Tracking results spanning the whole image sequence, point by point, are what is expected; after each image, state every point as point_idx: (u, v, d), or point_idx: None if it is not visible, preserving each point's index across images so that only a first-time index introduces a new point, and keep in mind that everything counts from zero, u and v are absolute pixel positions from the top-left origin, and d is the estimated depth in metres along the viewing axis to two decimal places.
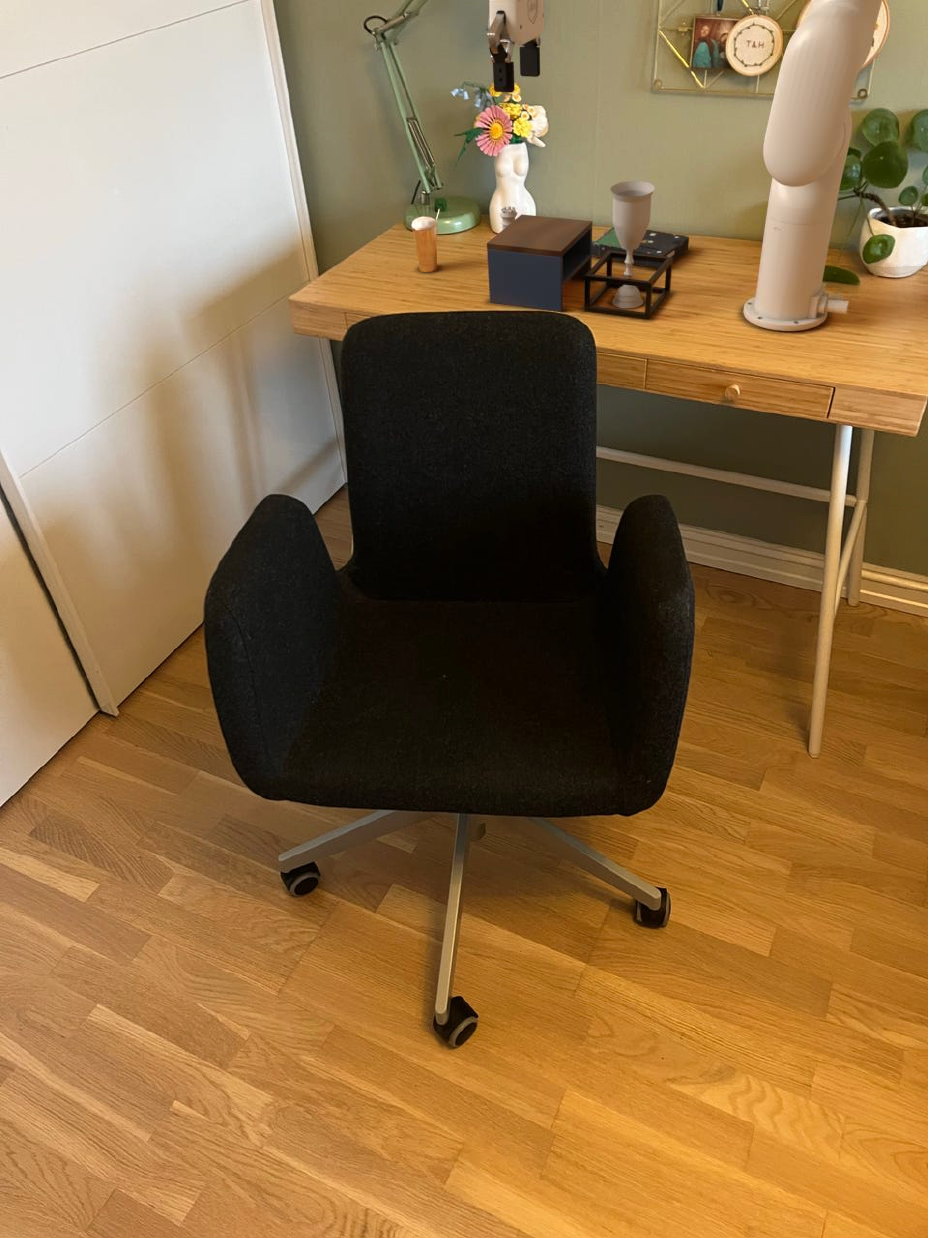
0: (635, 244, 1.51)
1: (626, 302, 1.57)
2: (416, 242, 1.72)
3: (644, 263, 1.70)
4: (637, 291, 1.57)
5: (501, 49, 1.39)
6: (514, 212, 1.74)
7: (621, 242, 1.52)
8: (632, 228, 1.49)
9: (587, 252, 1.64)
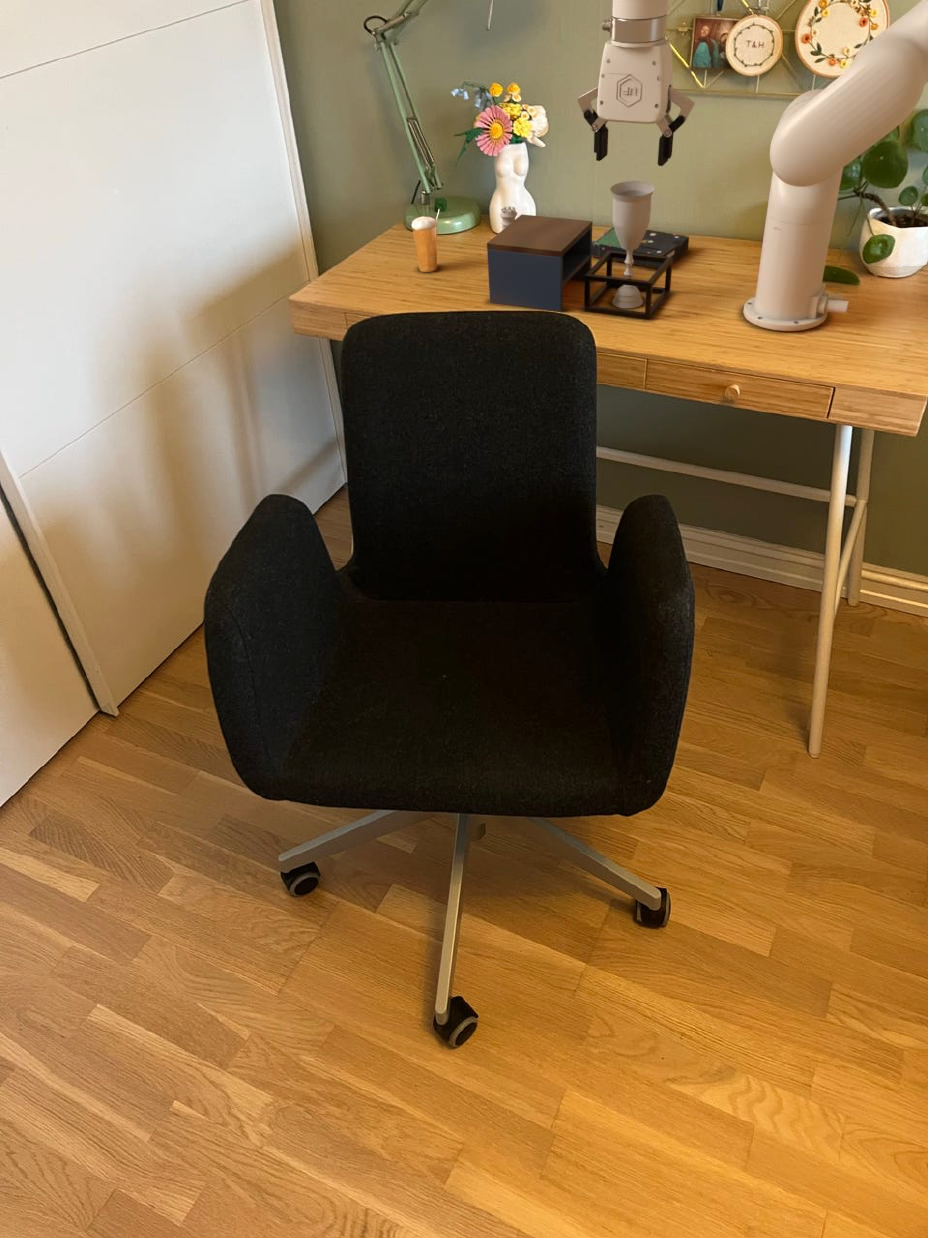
0: (635, 244, 1.51)
1: (626, 302, 1.57)
2: (416, 242, 1.72)
3: (644, 263, 1.70)
4: (637, 291, 1.57)
5: (585, 115, 1.43)
6: (514, 212, 1.74)
7: (621, 242, 1.52)
8: (632, 228, 1.49)
9: (587, 252, 1.64)
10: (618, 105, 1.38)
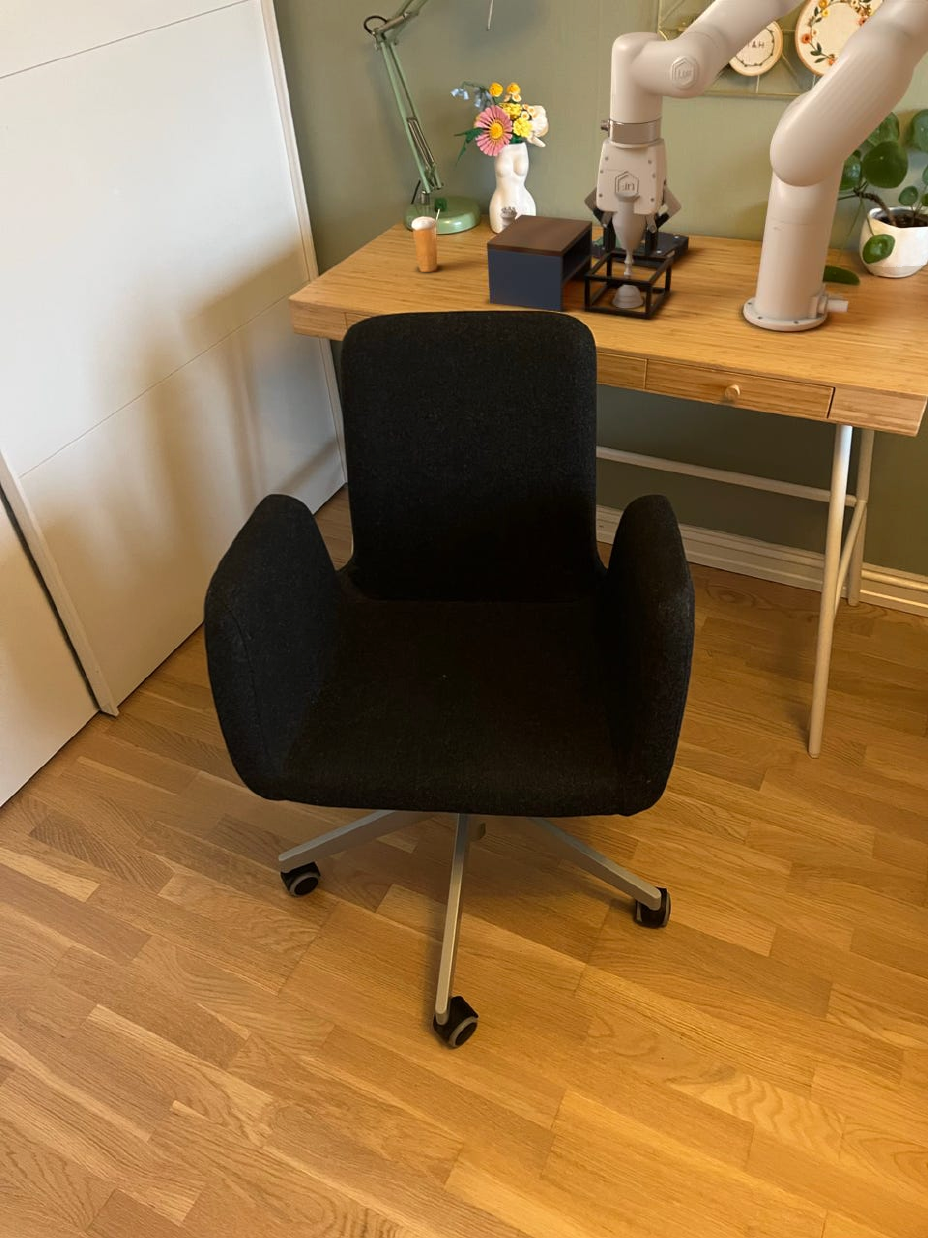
0: (635, 244, 1.52)
1: (626, 302, 1.57)
2: (416, 242, 1.72)
3: (644, 263, 1.70)
4: (637, 291, 1.57)
5: (594, 212, 1.52)
6: (514, 212, 1.74)
7: (621, 242, 1.52)
8: (632, 228, 1.49)
9: (587, 252, 1.64)
10: (616, 198, 1.47)
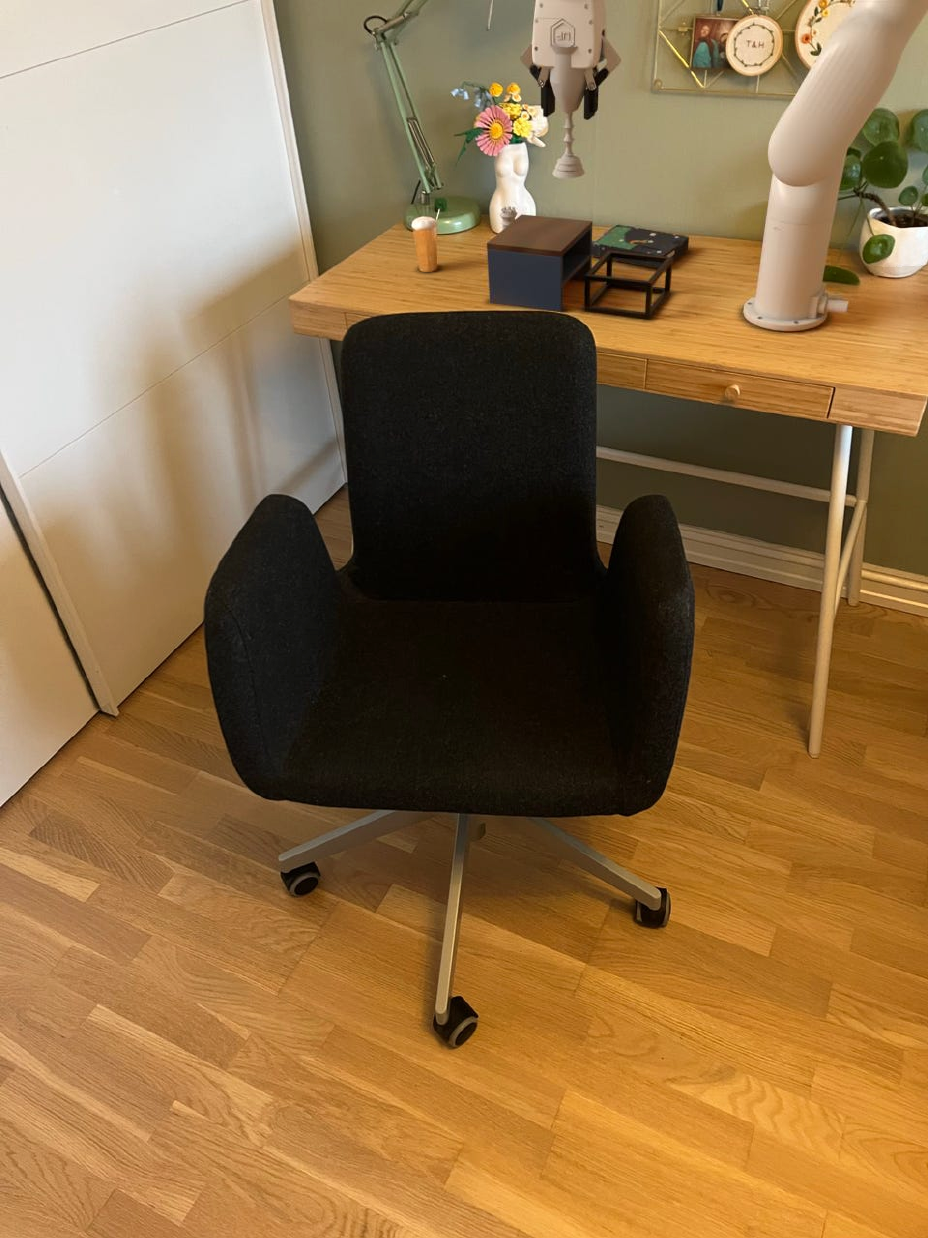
0: (574, 104, 1.43)
1: (566, 171, 1.49)
2: (416, 242, 1.72)
3: (644, 263, 1.70)
4: (578, 160, 1.49)
5: (531, 70, 1.43)
6: (514, 212, 1.74)
7: (559, 102, 1.43)
8: (570, 85, 1.40)
9: (587, 252, 1.64)
10: (552, 51, 1.38)
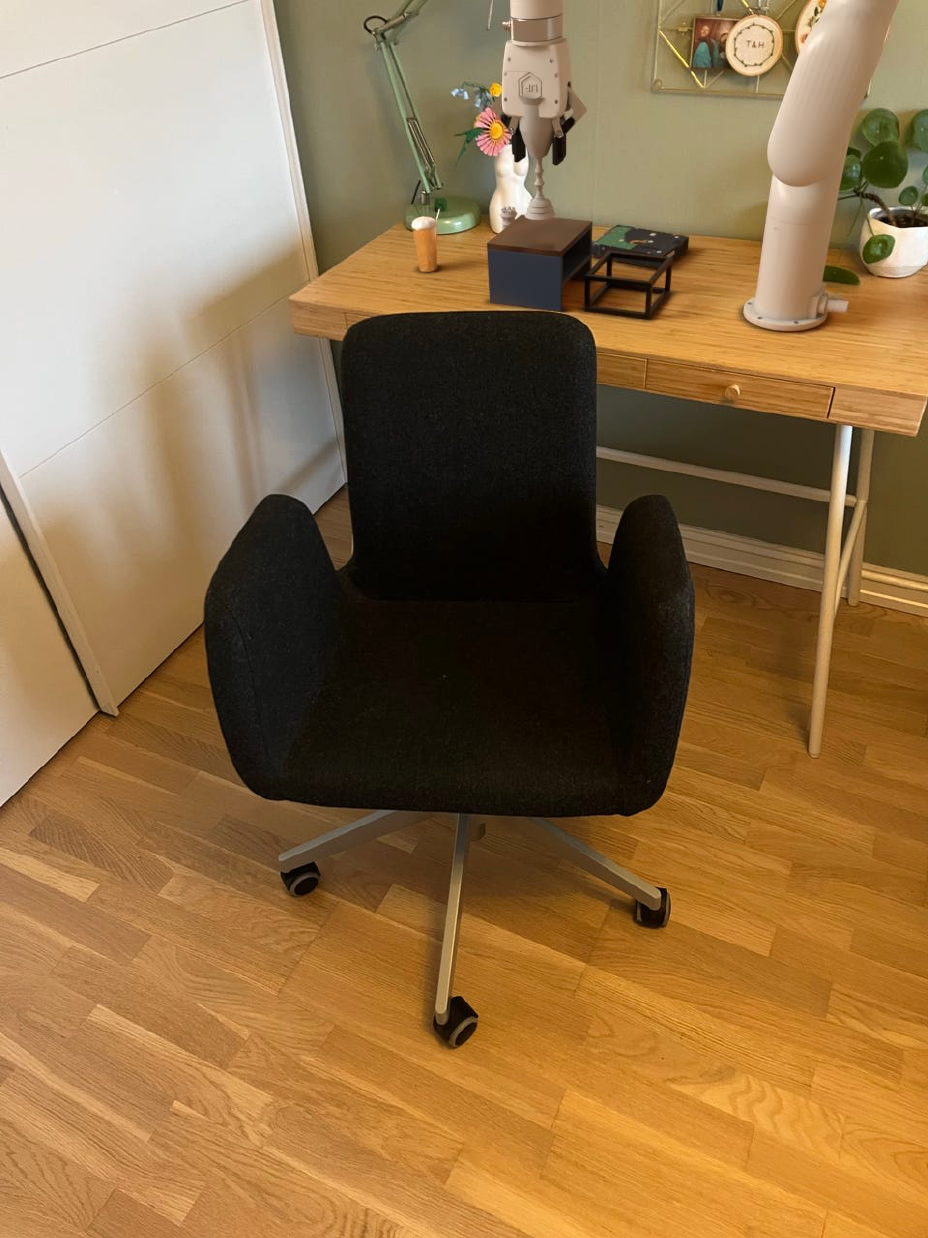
0: (543, 151, 1.49)
1: (537, 213, 1.55)
2: (416, 242, 1.72)
3: (644, 263, 1.70)
4: (548, 202, 1.55)
5: (502, 119, 1.49)
6: (514, 212, 1.74)
7: (529, 149, 1.49)
8: (538, 133, 1.46)
9: (587, 252, 1.64)
10: None
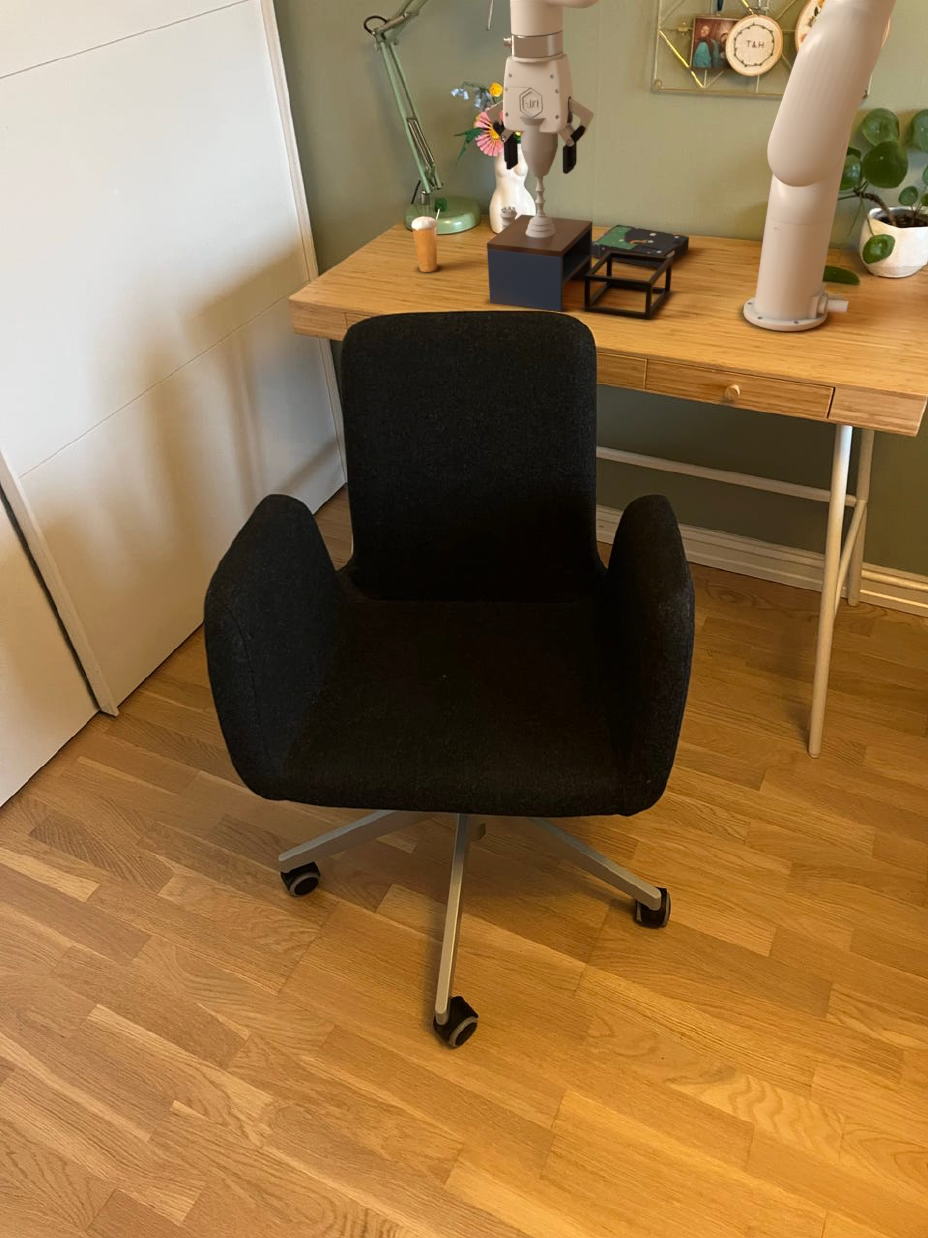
0: (544, 170, 1.51)
1: (538, 231, 1.57)
2: (416, 242, 1.72)
3: (644, 263, 1.70)
4: (549, 220, 1.57)
5: (493, 126, 1.50)
6: (514, 212, 1.74)
7: (530, 168, 1.51)
8: (539, 153, 1.48)
9: (587, 252, 1.64)
10: (522, 117, 1.46)
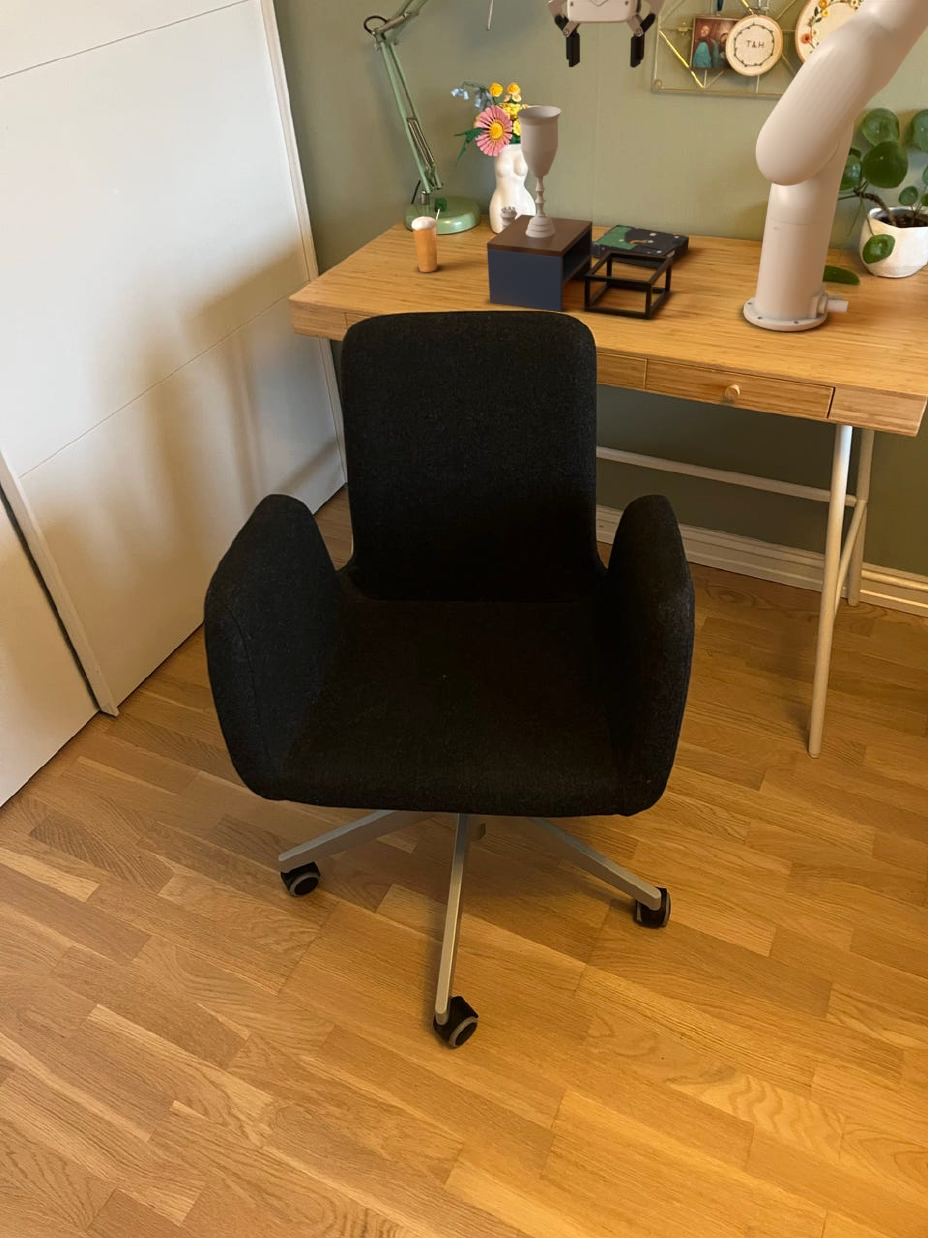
0: (544, 170, 1.51)
1: (538, 231, 1.57)
2: (416, 242, 1.72)
3: (644, 263, 1.70)
4: (549, 220, 1.57)
5: (556, 20, 1.43)
6: (514, 212, 1.74)
7: (530, 168, 1.51)
8: (539, 153, 1.48)
9: (587, 252, 1.64)
10: (588, 5, 1.38)
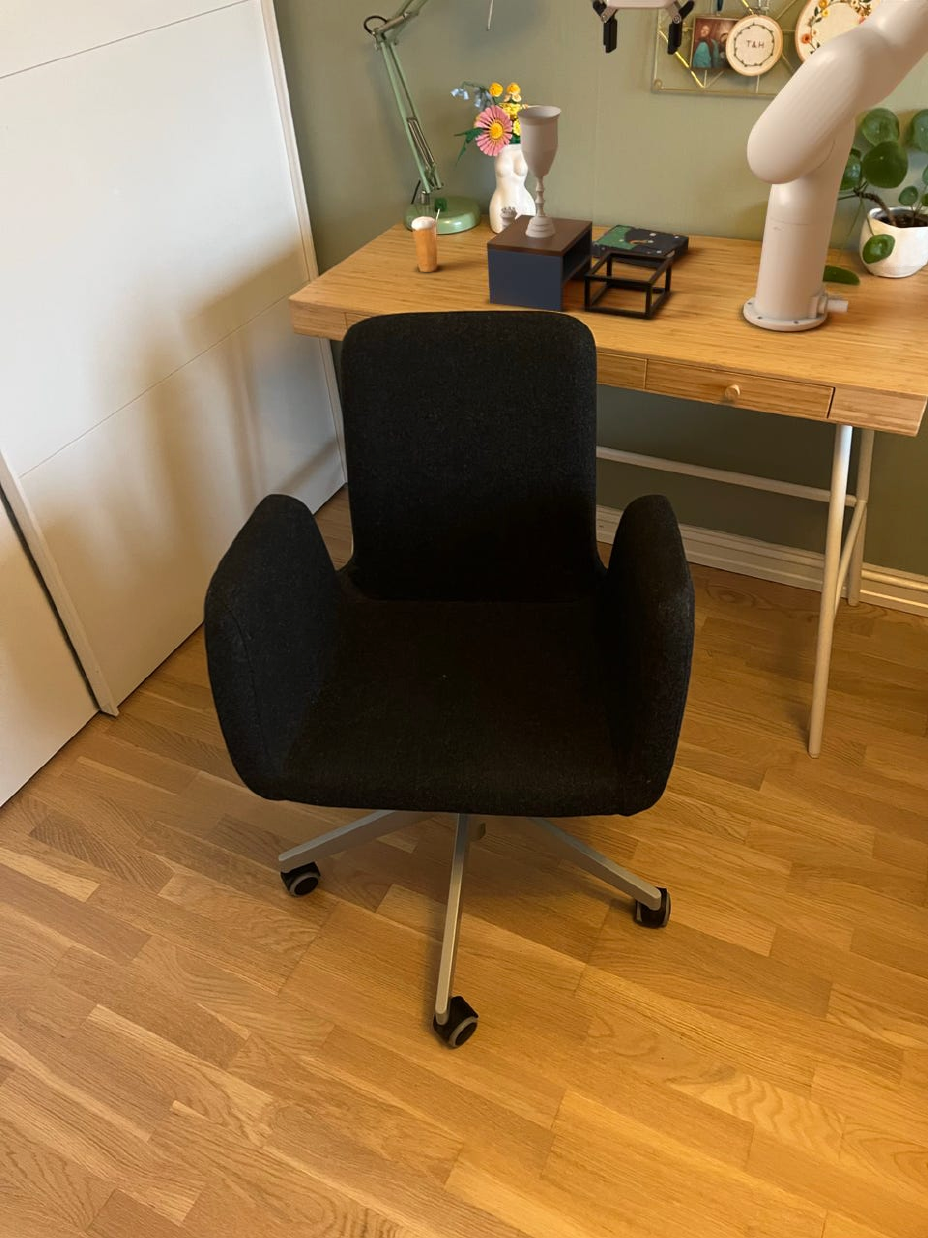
0: (544, 170, 1.51)
1: (538, 231, 1.57)
2: (416, 242, 1.72)
3: (644, 263, 1.70)
4: (549, 220, 1.57)
5: (594, 5, 1.43)
6: (514, 212, 1.74)
7: (530, 168, 1.51)
8: (539, 153, 1.48)
9: (587, 252, 1.64)
10: None
